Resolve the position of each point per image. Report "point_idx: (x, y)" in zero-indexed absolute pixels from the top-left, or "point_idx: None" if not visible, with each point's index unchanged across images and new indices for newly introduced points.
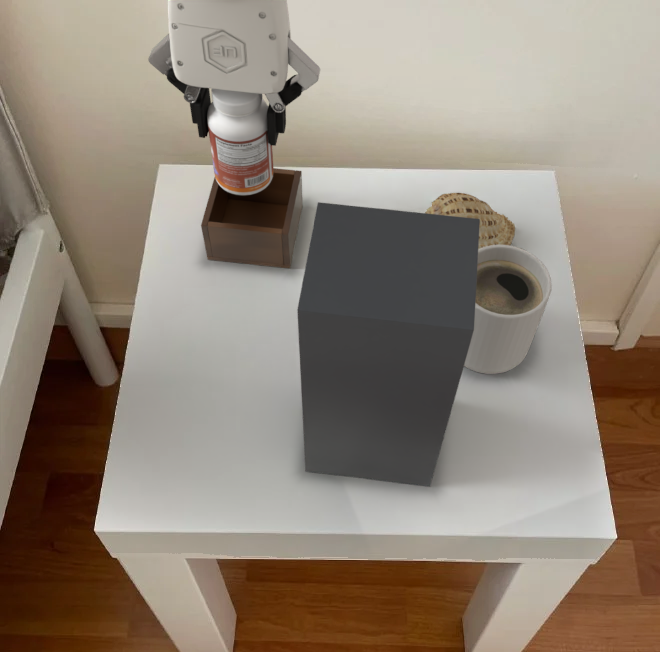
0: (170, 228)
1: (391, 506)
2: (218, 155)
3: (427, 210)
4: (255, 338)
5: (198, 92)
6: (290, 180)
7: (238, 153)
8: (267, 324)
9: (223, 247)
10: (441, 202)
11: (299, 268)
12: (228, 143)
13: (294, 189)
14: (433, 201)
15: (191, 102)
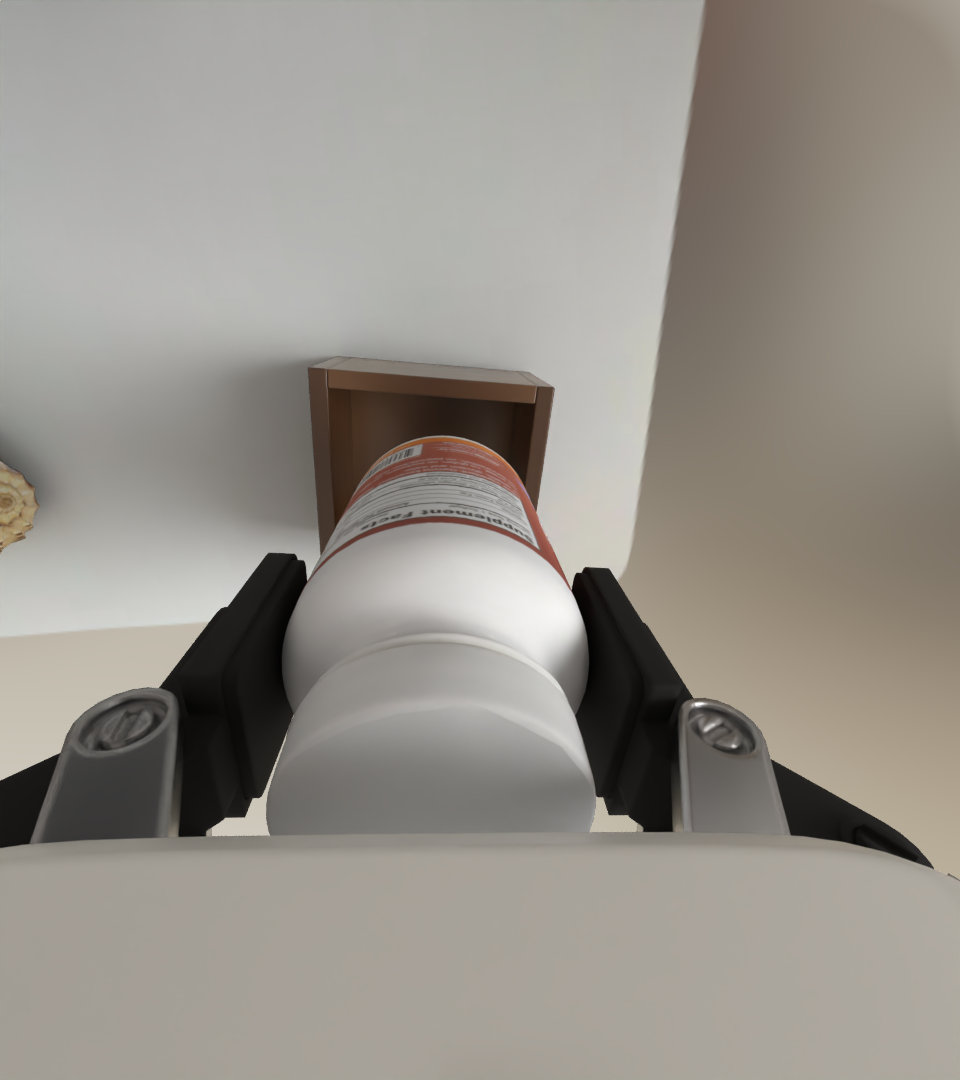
0: (612, 456)
1: None
2: (520, 506)
3: (3, 515)
4: (382, 97)
5: (687, 769)
6: None
7: (428, 494)
8: (359, 155)
9: (493, 374)
10: None
11: (316, 359)
12: (473, 518)
13: (326, 527)
14: (1, 543)
15: (699, 701)
